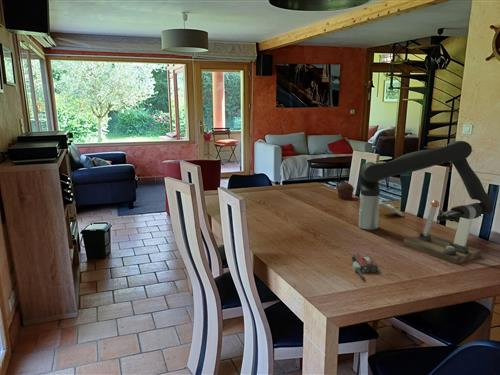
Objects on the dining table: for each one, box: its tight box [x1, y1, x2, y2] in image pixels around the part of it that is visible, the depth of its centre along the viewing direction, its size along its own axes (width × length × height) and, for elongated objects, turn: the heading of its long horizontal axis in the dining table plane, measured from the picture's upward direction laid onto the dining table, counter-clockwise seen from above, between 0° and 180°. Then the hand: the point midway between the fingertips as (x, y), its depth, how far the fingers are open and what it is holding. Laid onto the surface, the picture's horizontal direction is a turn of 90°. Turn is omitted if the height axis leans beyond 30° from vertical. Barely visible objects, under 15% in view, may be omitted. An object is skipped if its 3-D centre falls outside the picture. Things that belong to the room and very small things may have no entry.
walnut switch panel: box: [403, 232, 482, 265], centre depth 167 cm, size 16×25×5 cm, turn 28°
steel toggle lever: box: [422, 199, 440, 237], centre depth 174 cm, size 3×3×17 cm
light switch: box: [379, 200, 404, 218], centre depth 224 cm, size 8×6×14 cm
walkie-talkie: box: [351, 253, 379, 280], centre depth 149 cm, size 9×4×20 cm
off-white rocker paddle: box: [453, 217, 473, 249], centre depth 160 cm, size 1×4×12 cm, turn 28°
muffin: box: [336, 182, 355, 200], centre depth 266 cm, size 12×11×10 cm
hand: (438, 218), depth 176 cm, fingers closed
